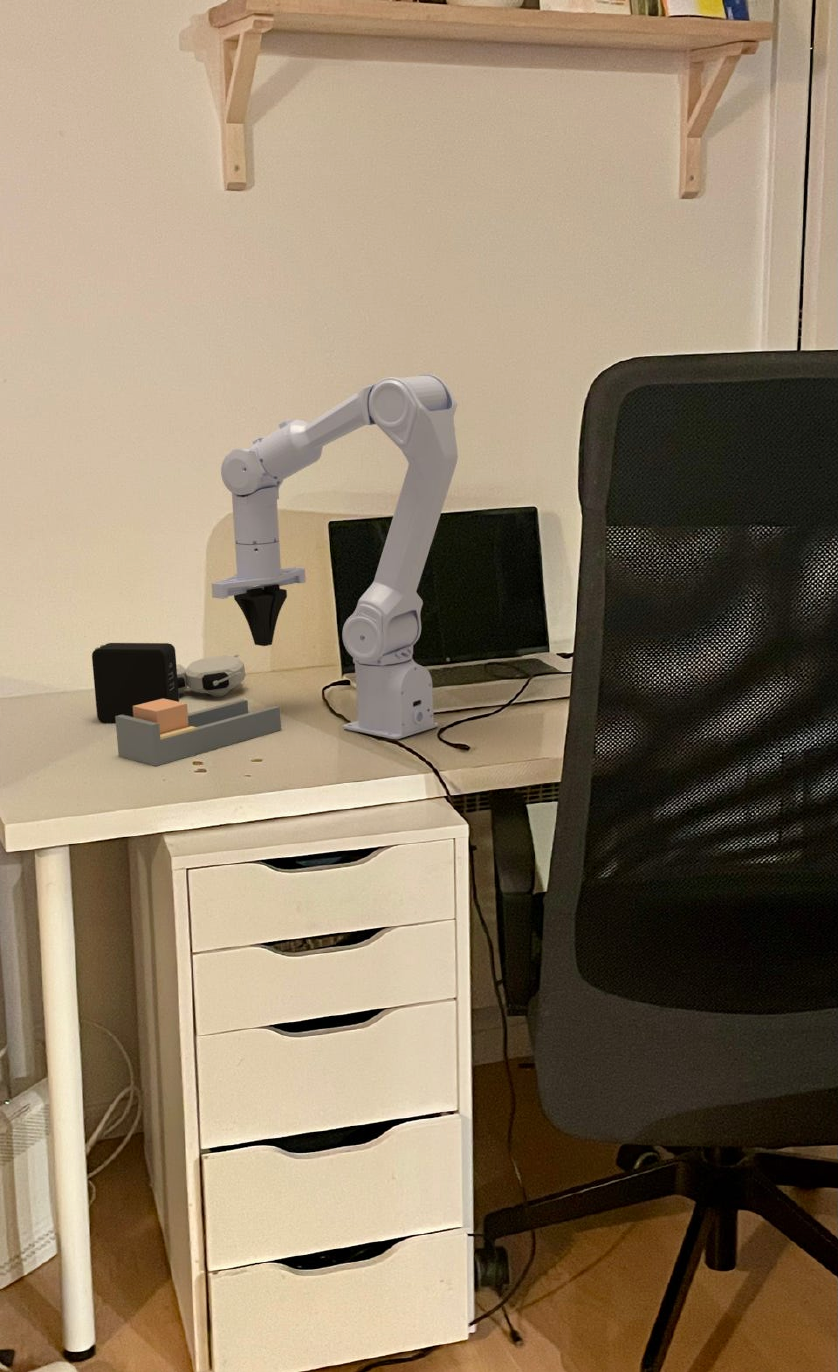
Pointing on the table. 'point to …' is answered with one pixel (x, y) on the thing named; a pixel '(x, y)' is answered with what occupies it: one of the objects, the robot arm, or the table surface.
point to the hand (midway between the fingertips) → (263, 644)
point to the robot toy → (211, 675)
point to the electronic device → (132, 677)
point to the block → (163, 714)
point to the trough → (194, 732)
